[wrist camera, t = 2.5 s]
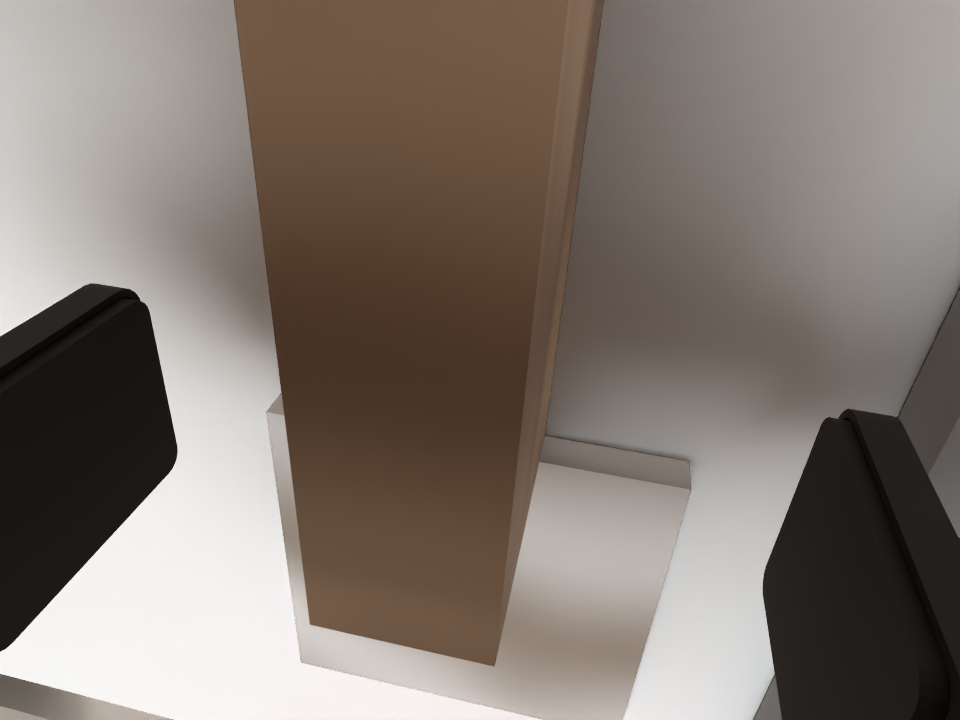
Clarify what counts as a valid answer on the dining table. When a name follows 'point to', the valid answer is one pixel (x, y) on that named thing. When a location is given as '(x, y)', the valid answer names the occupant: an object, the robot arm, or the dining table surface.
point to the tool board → (926, 437)
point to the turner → (443, 354)
